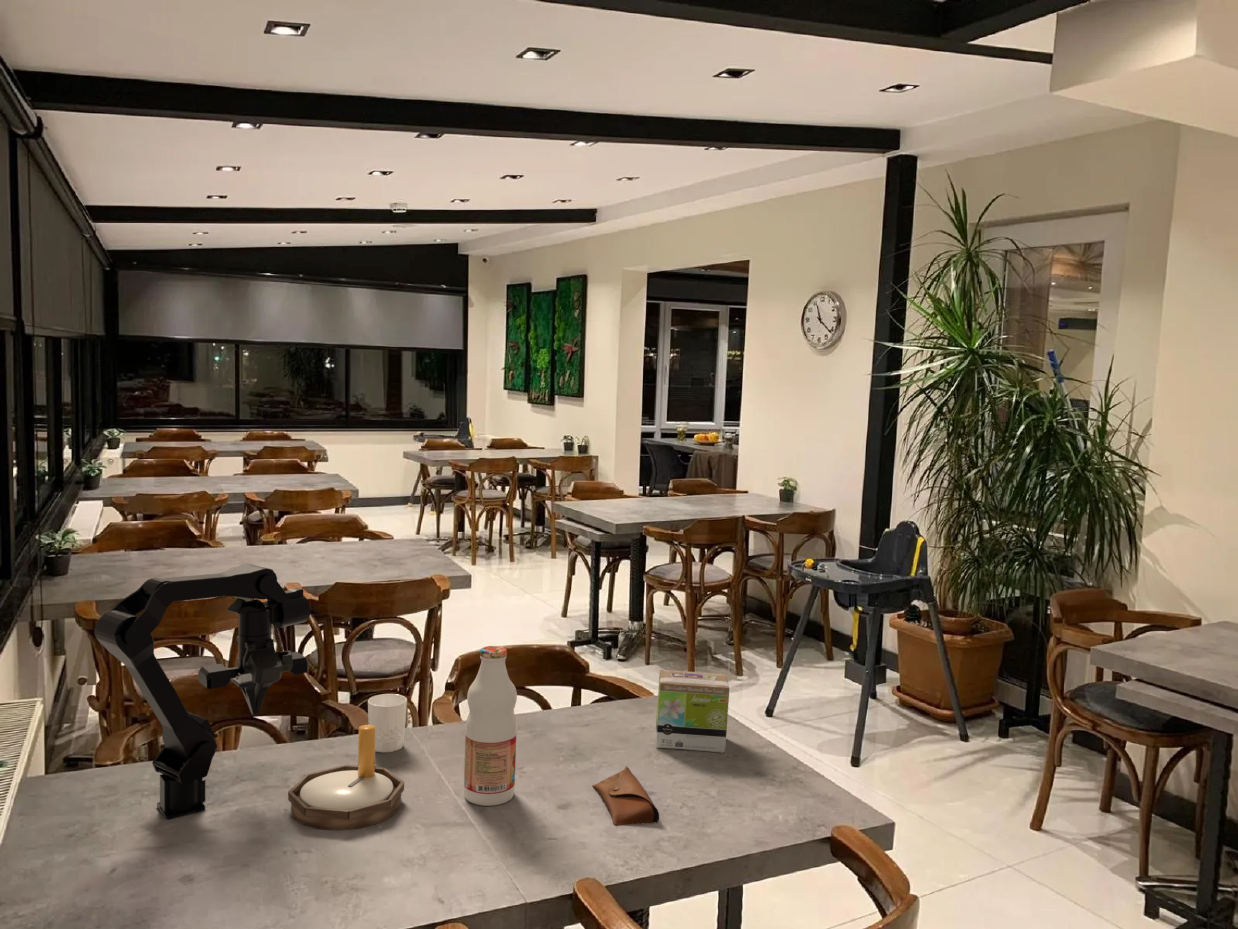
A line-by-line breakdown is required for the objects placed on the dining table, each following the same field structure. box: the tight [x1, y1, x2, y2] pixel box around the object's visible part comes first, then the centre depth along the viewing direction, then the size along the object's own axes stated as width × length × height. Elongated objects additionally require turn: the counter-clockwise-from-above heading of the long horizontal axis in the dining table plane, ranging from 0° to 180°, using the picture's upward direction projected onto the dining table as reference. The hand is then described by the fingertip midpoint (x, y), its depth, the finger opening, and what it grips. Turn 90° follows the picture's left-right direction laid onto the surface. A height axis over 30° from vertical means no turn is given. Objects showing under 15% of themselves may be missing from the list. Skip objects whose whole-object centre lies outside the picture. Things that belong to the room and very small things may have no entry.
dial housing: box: [287, 764, 405, 831], centre depth 172 cm, size 19×19×4 cm
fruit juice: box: [463, 645, 518, 807], centre depth 177 cm, size 9×9×28 cm
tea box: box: [655, 669, 730, 754], centre depth 208 cm, size 15×10×15 cm
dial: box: [300, 724, 393, 810], centre depth 171 cm, size 16×16×10 cm
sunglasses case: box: [591, 766, 660, 827], centre depth 178 cm, size 18×7×7 cm
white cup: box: [367, 693, 408, 753], centre depth 199 cm, size 8×8×10 cm
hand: (254, 714), depth 179 cm, fingers closed
